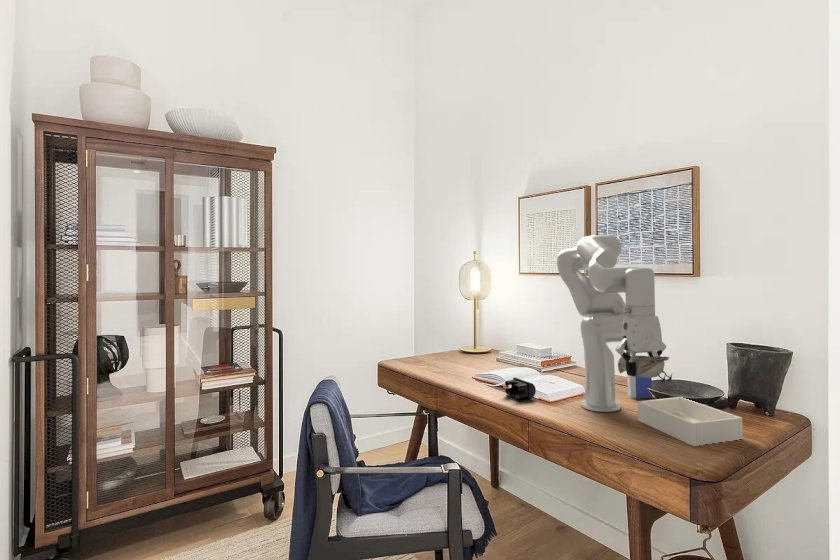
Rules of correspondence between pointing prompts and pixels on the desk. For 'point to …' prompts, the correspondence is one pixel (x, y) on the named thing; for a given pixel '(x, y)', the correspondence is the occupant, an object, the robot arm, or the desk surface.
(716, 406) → the disk drive
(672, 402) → the walled box
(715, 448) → the desk surface
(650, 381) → the walkman
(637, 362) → the decorative bird
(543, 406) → the desk surface
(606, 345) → the robot arm
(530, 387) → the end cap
